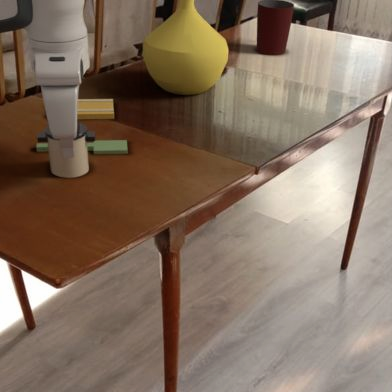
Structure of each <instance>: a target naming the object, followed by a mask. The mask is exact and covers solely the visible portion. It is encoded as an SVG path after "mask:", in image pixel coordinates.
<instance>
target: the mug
mask: <svg viewBox="0 0 392 392" xmlns="http://www.w3.org/2000/svg"><path fill="white" fill-rule="evenodd" d="M294 9H295V4H294V3H293V2H290V1H287V0H260V1H258V2H257V13H256V52H257V53H260V54H262V55H266V56H281V55H284V54H285V53H286V51H287V46H288V41H289V36H290V31H291V26H292V22H293V21H292V20H293V15H294Z"/></svg>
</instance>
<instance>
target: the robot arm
mask: <svg viewBox="0 0 392 392" xmlns="http://www.w3.org/2000/svg"><path fill="white" fill-rule="evenodd" d="M85 1H86V0H0V34H2V33H3V34H4V33H11V32H14V31H17V30H18V31H19V30H22V29H24V30H25V31H26V32H25V33H26V38H27V45H28V51H29V60H30V67H31V69H32V71H33V72H34V78H35V79H34V80H35V84H36V85H37V86H40V89H41V95H42V101H43V105H44V110H45V115H46V119H47V125H49V128H50V131H51V134H52V136H53V138H54V139H59V140H60V143H61V147H62V153H63V157H65V158H73V157H74V143H73V139H75V138H76V136H77V122H78V119H77V114H78V99H79V89H80V86H81V85H82V81H83V79H84V75H85V73H86V72H87V71H88V70H89V69H90V67H91V60H90V59H91V57H90V45H89V35H88V29H87V25H86V22H85V18H84V8H85Z"/></svg>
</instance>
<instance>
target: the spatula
mask: <svg viewBox="0 0 392 392" xmlns="http://www.w3.org/2000/svg"><path fill="white" fill-rule="evenodd" d="M35 149H36V152H37V153H42V152H43V153H44V152H46V153H47V152H48V144H47V142H37V143H36V146H35ZM87 149H88V152H93V155H114V154H115V155H120V154H121V155H123V154H124V155H126V154H129V151H128V140H127V139H106V140H105V139H104V140H102V139H100V140H99V139H98V140H95V141H93V142H87ZM48 153H49V152H48Z"/></svg>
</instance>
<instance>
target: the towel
mask: <svg viewBox="0 0 392 392" xmlns="http://www.w3.org/2000/svg"><path fill="white" fill-rule="evenodd" d="M77 120H115V109H114V98H80V99H79V98H78V114H77Z"/></svg>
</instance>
